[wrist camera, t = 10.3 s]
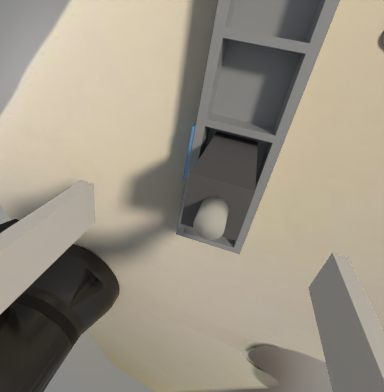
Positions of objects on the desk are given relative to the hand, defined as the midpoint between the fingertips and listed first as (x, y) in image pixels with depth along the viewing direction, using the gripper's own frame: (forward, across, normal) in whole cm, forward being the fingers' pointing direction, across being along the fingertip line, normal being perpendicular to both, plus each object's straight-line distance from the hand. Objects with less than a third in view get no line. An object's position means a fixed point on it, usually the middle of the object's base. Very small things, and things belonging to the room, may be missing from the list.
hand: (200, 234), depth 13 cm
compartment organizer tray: (+13, +1, +4) cm, 14 cm away
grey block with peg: (+13, 0, 0) cm, 13 cm away
